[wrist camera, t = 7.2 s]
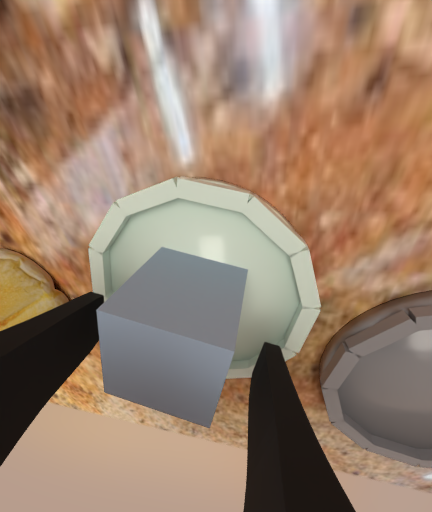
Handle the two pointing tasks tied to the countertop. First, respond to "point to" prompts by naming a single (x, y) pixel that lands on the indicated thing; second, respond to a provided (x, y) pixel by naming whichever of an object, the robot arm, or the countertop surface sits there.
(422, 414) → the charcoal dish
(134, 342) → the block
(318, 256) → the countertop surface
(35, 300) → the bread roll
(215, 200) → the celadon dish
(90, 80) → the countertop surface
